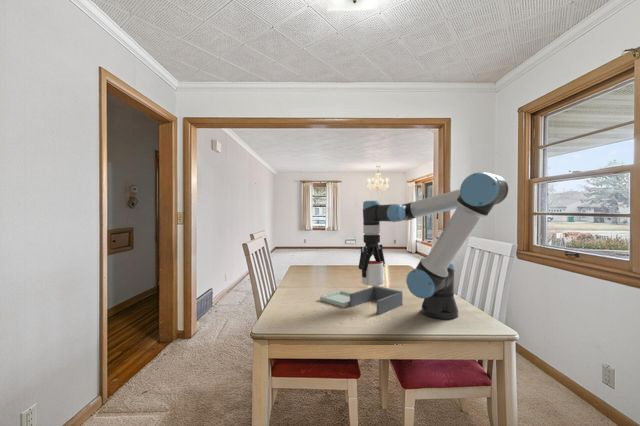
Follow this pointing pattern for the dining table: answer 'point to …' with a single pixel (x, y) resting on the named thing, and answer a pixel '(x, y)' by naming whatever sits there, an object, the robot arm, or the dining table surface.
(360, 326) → the dining table surface
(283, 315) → the dining table surface
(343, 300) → the tray
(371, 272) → the cup
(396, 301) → the bay
